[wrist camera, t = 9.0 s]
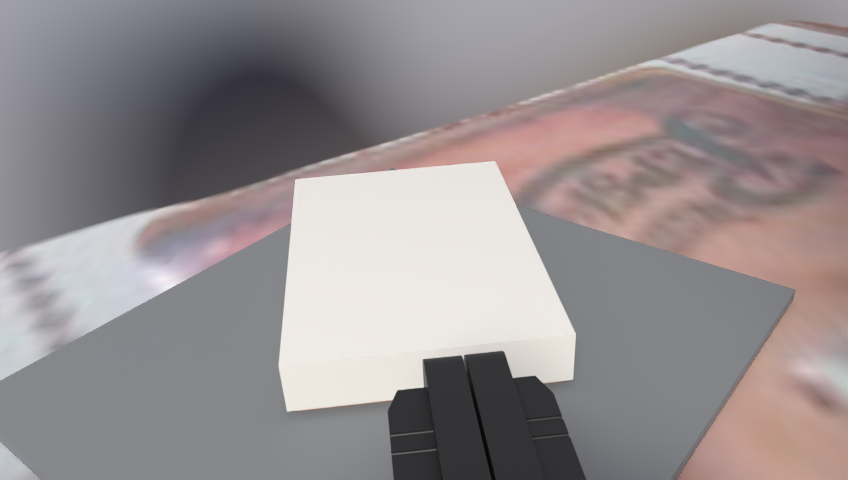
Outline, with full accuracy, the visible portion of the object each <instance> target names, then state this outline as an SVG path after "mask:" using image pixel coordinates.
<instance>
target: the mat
mask: <svg viewBox="0 0 848 480" xmlns="http://www.w3.org/2000/svg"><path fill="white" fill-rule="evenodd" d="M392 170H396V169H393V168H392V169H390V170H388V171H392ZM516 207H517V209H518V211H519V213H520V215H521V218H522V220H523V222H524V224H525V226H526V228H527V230H528V233H529V235H530V237H531V239H532V241H533V243H534V245H535V248H536V250H537V252H538V254H539V256H540V258H541V260H542V263H543V265H544V267H545V269H546V271H547V273H548V275H549V277H550V280H551V282H552V284H553V286H554V288H555V290H556V292H557V295H558V297H559V299H560V301H561V303H562V305H563V307H564V310H565V312H566V314H567V316H568V318H569V320H570V322H571V325H572V327H573V329H574V331H575V333H576V342H575V358H574V374H573V380H567V381H562V382H555V383H546V384H544V385H545V386H547V387H548V388H549V389H550V390H551V391H552V392H553V393H554V396H555V398H556V401H557V404H558V406H559V409H560V411H561V414H562V419H564V422H565V425H566V427H567V430H568V434H569V437H570V438H571V440H572V443H573V446H574V448H575V451H576V454H577V456H578V459H579V462H580V464H581V467H582V469H583V472H584V475H585V477H586V480H676V479H677V477H678V476H679V474H680V473H681V471H682V470H683V468H684V466H685V465H686V463H687V462H688V460H689V459H690V457H691V456H692V454H693V453H694V451H695V450H696V448H697V447H698V445H699V443H700V442H701V440H702V439H703V437H704V436H705V434H706V433H707V431H708V430H709V428H710V427H711V425H712V424H713V422H714V420H715V419H716V417H717V416H718V414H719V413H720V411H721V410H722V408H723V407H724V405H725V404H726V402H727V400H728V399H729V397H730V396H731V394H732V393H733V391H734V390H735V388H736V387H737V385H738V384H739V382H740V381H741V379H742V377H743V376H744V374H745V373H746V371H747V370H748V368H749V367H750V365H751V364H752V362H753V361H754V359H755V357H756V356H757V354H758V353H759V351H760V350H761V348H762V347H763V345H764V344H765V342H766V341H767V339H768V338H769V336H770V334H771V333H772V331H773V330H774V328H775V327H776V325H777V324H778V322H779V321H780V319H781V318H782V316H783V314H784V313H785V311H786V310H787V308H788V307H789V305H790V304H791V302H792V301H793V298H794V294H795V290H794V289H791V288H788V287H784V286H781V285H778V284H775V283H771V282H768V281H765V280H761V279H758V278H755V277H751V276H748V275H745V274H741V273H738V272H735V271H731V270H728V269H725V268H721V267H718V266H715V265H711V264H708V263H705V262H701V261H698V260H695V259H691V258H688V257H685V256H682V255H678V254H675V253H672V252H668V251H665V250H662V249H658V248H655V247H652V246H648V245H645V244H642V243H638V242H635V241H632V240H628V239H625V238H622V237H618V236H615V235H612V234H608V233H605V232H602V231H598V230H595V229H592V228H589V227H585V226H582V225H579V224H575V223H572V222H569V221H565V220H562V219H559V218H555V217H552V216H549V215H545V214H542V213H539V212H535V211H532V210H529V209H525V208H522V207H519V206H516ZM290 234H291V223H290V224H288V225H287V226H285V227H283V228H281V229H279V230H277V231H275V232H274V233H272V234H270V235H268V236H266V237H264V238H263V239H261V240H259V241H257V242H255V243H253V244H252V245H250V246H248V247H246V248H244V249H242V250H240V251H239V252H237V253H235V254H233V255H231V256H229V257H228V258H226V259H224V260H222V261H220V262H218V263H217V264H215V265H213V266H211V267H209V268H207V269H205V270H204V271H202V272H200V273H198V274H196V275H194V276H193V277H191V278H189V279H187V280H185V281H183V282H181V283H180V284H178V285H176V286H174V287H172V288H170V289H169V290H167V291H165V292H163V293H161V294H159V295H158V296H156V297H154V298H152V299H150V300H148V301H146V302H145V303H143V304H141V305H139V306H137V307H135V308H134V309H132V310H130V311H128V312H126V313H124V314H123V315H121V316H119V317H117V318H115V319H113V320H111V321H110V322H108V323H106V324H104V325H102V326H100V327H99V328H97V329H95V330H93V331H91V332H89V333H88V334H86V335H84V336H82V337H80V338H78V339H76V340H75V341H73V342H71V343H69V344H67V345H65V346H64V347H62V348H60V349H58V350H56V351H54V352H53V353H51V354H49V355H47V356H45V357H43V358H41V359H40V360H38V361H36V362H34V363H32V364H30V365H29V366H27V367H25V368H23V369H21V370H19V371H18V372H16V373H14V374H12V375H10V376H8V377H6V378H5V379H3V380H1V381H0V442H1V443H2V444H4V445H5V446H6V447H7V448H8V449H9V450H10V451H11V452H12V453H13V454H14V455H15V456H17V457H18V458H19V459H20V460H21V461H22V462H23V463H24V464H25V465H26V466H27V467H28V468H29V469H31V470H32V471H33V472H34V473H35V474H36V475H37V476H38V477H39V478H40V479H41V480H394V478H393V467H392V455H391V444H390V433H389V422H388V409H389V407H390V405H391V403H392V401H385V402H376V403H367V404H359V405H350V406H341V407H332V408H323V409H314V410H305V411H289V412H287V409H286V404H285V398H284V393H283V388H282V382H281V377H280V372H279V355H280V344H281V333H282V322H283V311H284V300H285V289H286V278H287V267H288V256H289V245H290Z"/></svg>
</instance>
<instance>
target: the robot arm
mask: <svg viewBox="0 0 848 480" xmlns="http://www.w3.org/2000/svg"><path fill="white" fill-rule="evenodd" d="M423 381H424V388H414V389H404V390H397V392H396V394H395V396H394V398H393V401H392V403H391V405H390V407H389V409H388V422H389V433H390V444H391V455H392V467H393V478H394V480H586V477H585V475H584V472H583V469H582V467H581V464H580V462H579V459H578V456H577V454H576V451H575V448H574V446H573V443H572V440H571V438H570V437H569V434H568V430H567V427H566V425H565V422H564V419H562V414H561V411H560V409H559V406H558V404H557V401H556V398H555V396H554V393H553V392H552V391H551V390H550V389H549V388H548V387H547V386H545V385H544V384H543V383H542V382H541V381H540V380H539V379H538V378H537V377H536V376H527V377H517V378H513V377H512V374H511V371H510V368H509V365H508V361H507V358H506V355H505V353H504V351H496V352H486V353H476V354H466V355H464V360H463V358H462V355H458V356H449V357H439V358H429V359H423Z"/></svg>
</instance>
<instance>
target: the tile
mask: <svg viewBox="0 0 848 480" xmlns="http://www.w3.org/2000/svg"><path fill="white" fill-rule="evenodd" d="M575 342H576V333H575V331H574V329H573V327H572V325H571V322H570V320H569V318H568V316H567V314H566V312H565V310H564V307H563V305H562V303H561V301H560V299H559V297H558V295H557V292H556V290H555V288H554V286H553V284H552V282H551V280H550V277H549V275H548V273H547V271H546V269H545V267H544V265H543V263H542V260H541V258H540V256H539V254H538V252H537V250H536V248H535V245H534V243H533V241H532V239H531V237H530V235H529V233H528V230H527V228H526V226H525V224H524V222H523V220H522V218H521V215H520V213H519V211H518V209H517V207H516V205H515V203H514V200H513V198H512V196H511V194H510V192H509V190H508V188H507V186H506V183H505V181H504V179H503V177H502V175H501V173H500V171H499V168H498V166H497V164H496V162H495V161H491V162H480V163H469V164H458V165H447V166H436V167H425V168H414V169H403V170H392V171H381V172H370V173H359V174H348V175H337V176H326V177H315V178H304V179H295V190H294V201H293V212H292V223H291V234H290V245H289V256H288V267H287V278H286V289H285V300H284V311H283V322H282V333H281V344H280V355H279V372H280V377H281V382H282V388H283V393H284V398H285V404H286V409H287V412H289V411H305V410H314V409H323V408H332V407H341V406H350V405H359V404H367V403H376V402H385V401H393V398H394V396H395V394H396V392H397V390H404V389H414V388H424V381H423V359H429V358H439V357H449V356H458V355H462V358H463V360H464V355H466V354H476V353H486V352H496V351H504V353H505V355H506V358H507V361H508V365H509V368H510V371H511V374H512V377H513V378H517V377H527V376H536V377H537V378H538V379H539V380H540V381H541V382H542V383H543V384H546V383H555V382H562V381H567V380H573V374H574V358H575Z"/></svg>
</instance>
